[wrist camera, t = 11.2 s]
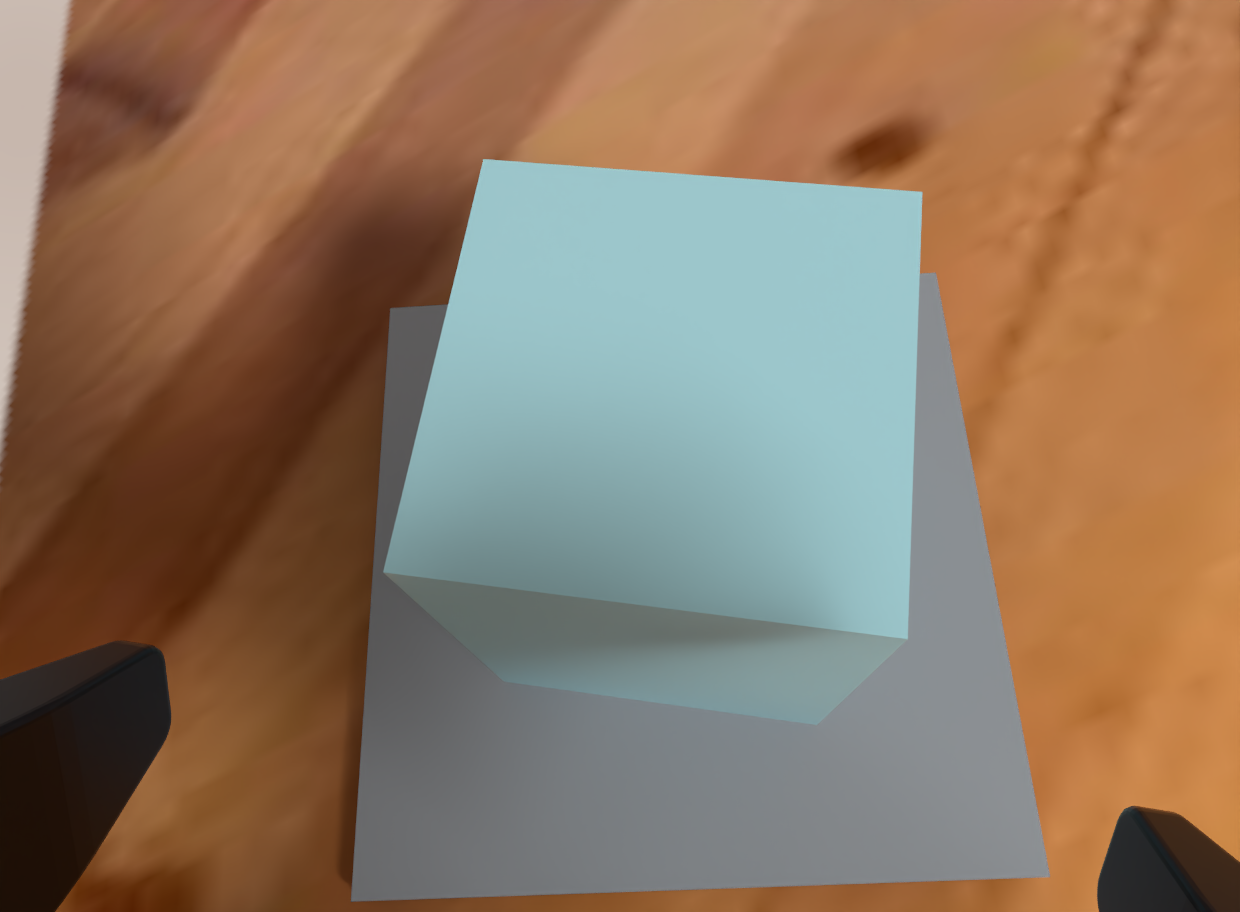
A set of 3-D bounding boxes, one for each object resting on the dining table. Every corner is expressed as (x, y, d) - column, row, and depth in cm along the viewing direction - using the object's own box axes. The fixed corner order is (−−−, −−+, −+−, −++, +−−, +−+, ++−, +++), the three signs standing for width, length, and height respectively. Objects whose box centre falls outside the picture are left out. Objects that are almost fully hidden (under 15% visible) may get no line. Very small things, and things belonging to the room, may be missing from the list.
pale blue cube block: (816, 724, 20) (907, 639, 12) (503, 681, 21) (382, 573, 13) (835, 432, 23) (922, 192, 14) (555, 403, 23) (483, 159, 15)
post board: (1036, 875, 20) (1125, 883, 16) (363, 899, 20) (284, 912, 16) (928, 289, 25) (974, 184, 21) (398, 323, 26) (345, 227, 22)
